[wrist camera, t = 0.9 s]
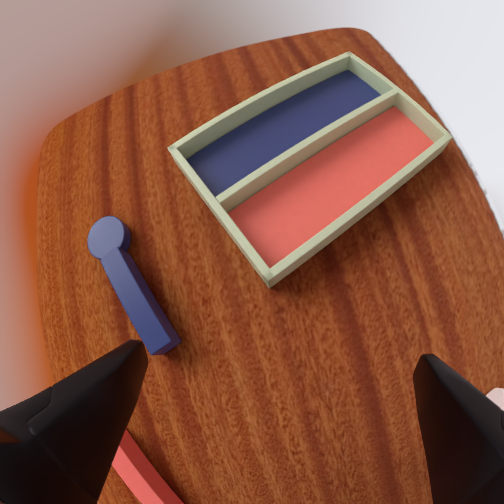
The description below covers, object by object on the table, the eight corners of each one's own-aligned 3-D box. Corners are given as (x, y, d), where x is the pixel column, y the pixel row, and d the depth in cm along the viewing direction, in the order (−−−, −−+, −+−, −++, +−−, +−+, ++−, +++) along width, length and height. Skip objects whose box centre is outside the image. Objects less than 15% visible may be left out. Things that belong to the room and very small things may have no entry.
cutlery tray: (269, 288, 21) (267, 281, 19) (176, 164, 25) (167, 147, 22) (442, 152, 23) (452, 136, 21) (346, 68, 27) (349, 51, 24)
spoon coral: (103, 438, 19) (88, 445, 17) (133, 422, 19) (119, 428, 17) (191, 545, 15) (184, 558, 13) (226, 533, 16) (221, 548, 14)
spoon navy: (192, 334, 21) (182, 333, 19) (153, 361, 20) (140, 362, 18) (120, 212, 24) (108, 201, 22) (89, 238, 24) (75, 229, 22)
